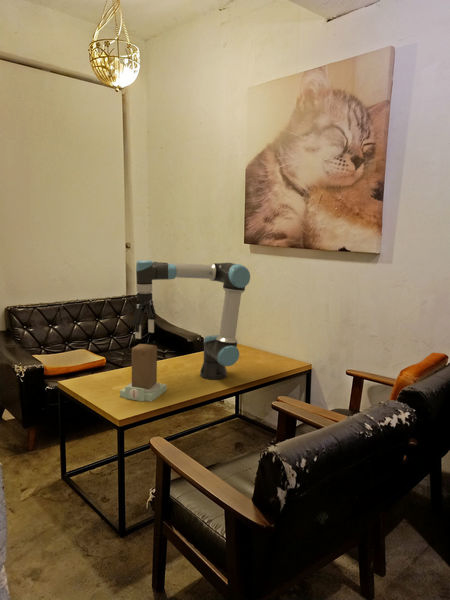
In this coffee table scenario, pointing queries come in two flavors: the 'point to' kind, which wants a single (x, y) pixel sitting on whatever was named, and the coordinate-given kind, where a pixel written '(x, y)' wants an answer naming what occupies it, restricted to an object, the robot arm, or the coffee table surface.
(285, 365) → the coffee table surface
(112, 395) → the coffee table surface
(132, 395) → the scale
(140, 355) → the wooden block
